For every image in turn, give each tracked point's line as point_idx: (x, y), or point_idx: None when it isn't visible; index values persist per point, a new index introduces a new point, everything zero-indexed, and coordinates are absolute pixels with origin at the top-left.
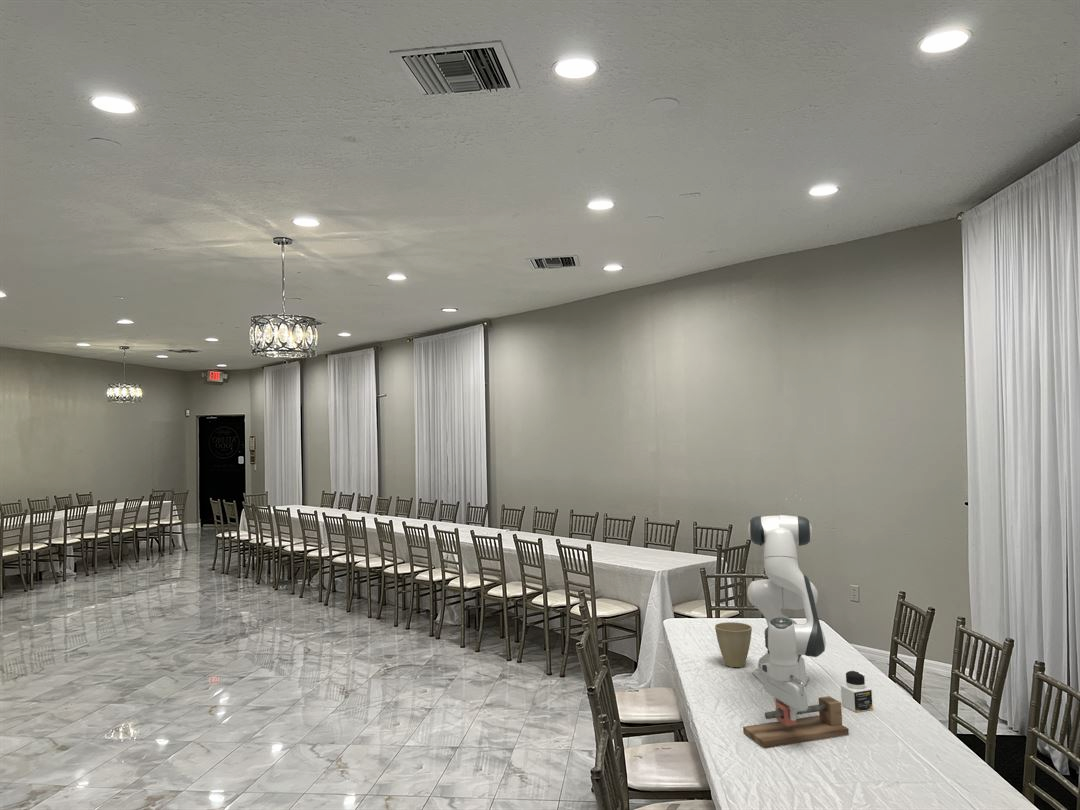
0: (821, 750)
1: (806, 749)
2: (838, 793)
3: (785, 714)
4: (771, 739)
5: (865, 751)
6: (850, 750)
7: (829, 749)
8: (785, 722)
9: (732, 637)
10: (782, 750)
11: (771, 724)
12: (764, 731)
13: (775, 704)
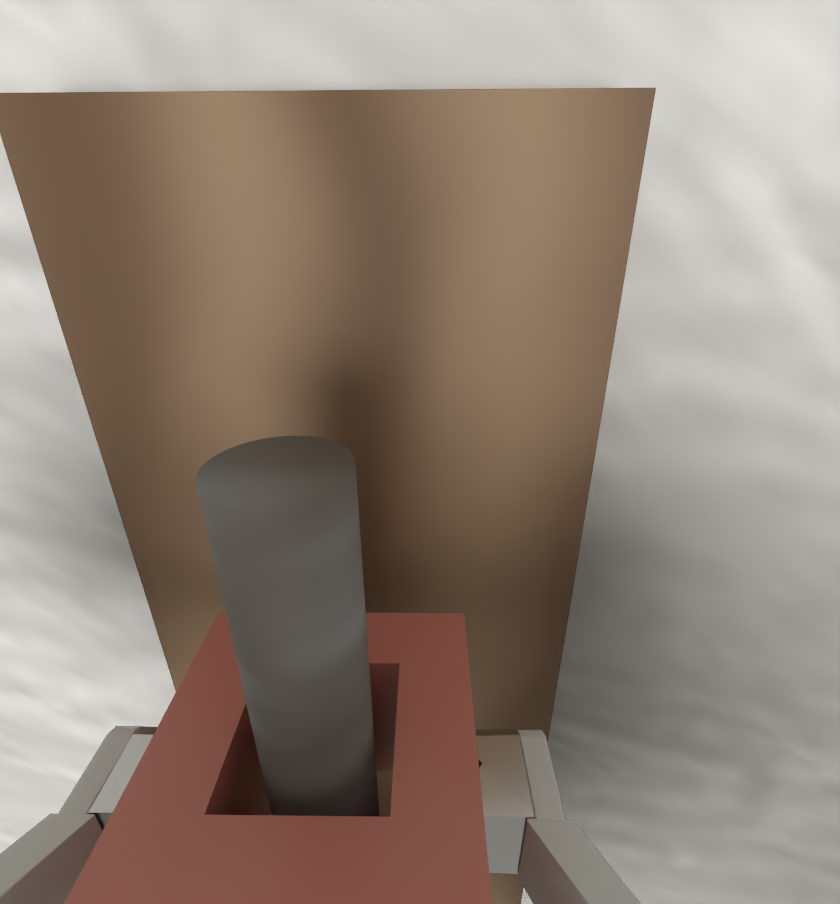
0: (13, 635)
1: (33, 549)
2: None
3: (149, 762)
4: (71, 275)
5: (3, 824)
6: (17, 774)
7: (34, 687)
8: (227, 641)
9: None
10: (5, 325)
11: (527, 527)
12: (357, 332)
13: (582, 835)
